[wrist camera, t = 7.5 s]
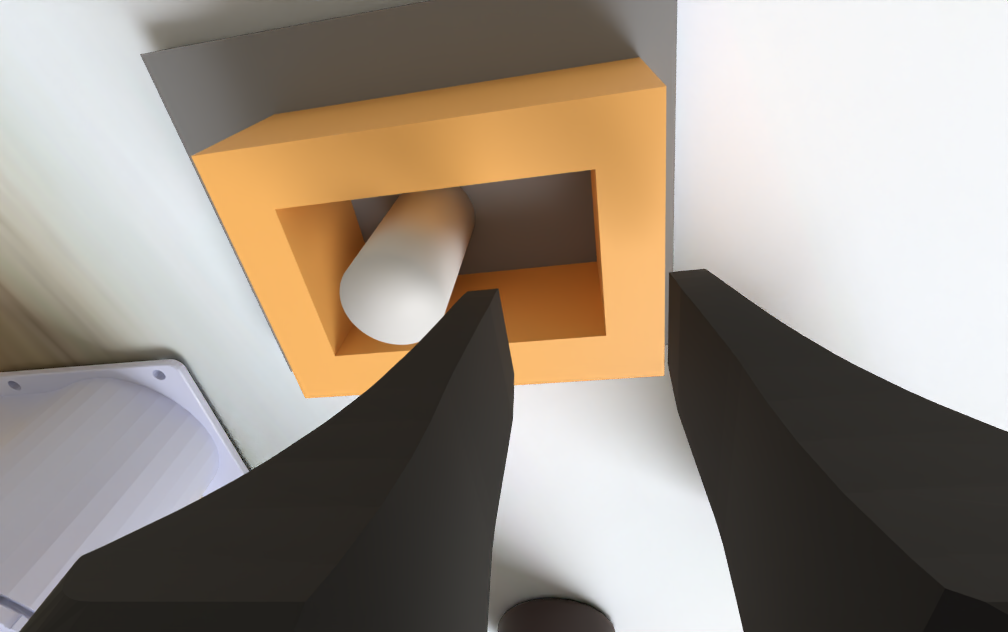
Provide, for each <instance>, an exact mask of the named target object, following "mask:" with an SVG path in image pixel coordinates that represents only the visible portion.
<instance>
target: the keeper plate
mask: <svg viewBox="0 0 1008 632" xmlns="http://www.w3.org/2000/svg"><path fill="white" fill-rule="evenodd" d="M676 44H677V0H431V1H425V2H420V3H414V4H409V5H404V6H398V7H393V8H387V9H382V10H377V11H371V12H366V13H360V14H355V15H349V16H344V17H339V18H333V19H328V20H322V21H317V22H312V23H306V24H301V25H295V26H290V27H285V28H279V29H274V30H268V31H263V32H257V33H252V34H247V35H241V36H236V37H230V38H225V39H220V40H214V41H209V42H203V43H198V44H193V45H187V46H182V47H176V48H171V49H165V50H160V51H155V52H150V53H145V54H140V55H141V57H142V59H143V61H144V63H145V65H146V67H147V69H148V72H149V74H150V76H151V78H152V80H153V82H154V84H155V86H156V88H157V90H158V93H159V95H160V97H161V99H162V101H163V103H164V105H165V107H166V109H167V112H168V114H169V116H170V118H171V120H172V122H173V124H174V126H175V128H176V130H177V133H178V135H179V137H180V139H181V141H182V143H183V145H184V147H185V149H186V152H187V154H188V156H189V158H190V160H191V162H192V164H193V166H194V168H195V170H196V173H197V175H198V177H199V179H200V181H201V183H202V185H203V187H204V189H205V192H206V194H207V196H208V198H209V200H210V202H211V204H212V206H213V208H214V210H215V213H216V215H217V217H218V219H219V221H220V223H221V225H222V227H223V229H224V232H225V234H226V236H227V238H228V240H229V242H230V244H231V246H232V248H233V250H234V253H235V255H236V257H237V259H238V261H239V263H240V265H241V267H242V269H243V271H244V274H245V276H246V278H247V280H248V282H249V284H250V286H251V288H252V290H253V293H254V295H255V297H256V299H257V301H258V303H259V305H260V307H261V309H262V311H263V314H264V316H265V318H266V320H267V322H268V324H269V326H270V328H271V330H272V333H273V335H274V337H275V339H276V341H277V343H278V345H279V347H280V349H281V351H282V354H283V356H284V358H285V360H286V362H287V364H288V366H289V368H290V370H291V372H292V369H291V367H290V365H289V362H288V360H287V358H286V356H285V354H284V352H283V350H282V348H281V345H280V343H279V341H278V339H277V337H276V335H275V333H274V331H273V329H272V326H271V324H270V322H269V320H268V318H267V316H266V314H265V312H264V310H263V307H262V305H261V303H260V301H259V299H258V297H257V295H256V293H255V291H254V288H253V286H252V284H251V282H250V280H249V278H248V276H247V274H246V271H245V269H244V267H243V265H242V263H241V261H240V259H239V257H238V255H237V252H236V250H235V248H234V246H233V244H232V242H231V240H230V238H229V236H228V233H227V231H226V229H225V227H224V225H223V223H222V221H221V219H220V216H219V214H218V212H217V210H216V208H215V206H214V204H213V202H212V200H211V197H210V195H209V193H208V191H207V189H206V187H205V185H204V183H203V181H202V178H201V176H200V174H199V172H198V170H197V168H196V166H195V164H194V161H193V159H192V157H191V156H192V155H194V154H196V153H198V152H200V151H202V150H204V149H206V148H208V147H210V146H212V145H214V144H216V143H218V142H220V141H222V140H224V139H226V138H228V137H230V136H232V135H234V134H236V133H238V132H240V131H242V130H244V129H246V128H248V127H250V126H252V125H254V124H256V123H258V122H260V121H262V120H264V119H266V118H268V117H270V116H272V115H274V114H280V113H287V112H293V111H299V110H306V109H312V108H318V107H325V106H331V105H338V104H344V103H350V102H357V101H363V100H370V99H376V98H382V97H389V96H395V95H401V94H408V93H414V92H421V91H427V90H433V89H440V88H446V87H452V86H459V85H465V84H472V83H478V82H484V81H491V80H497V79H504V78H510V77H516V76H523V75H529V74H535V73H542V72H548V71H555V70H561V69H567V68H574V67H580V66H586V65H593V64H599V63H606V62H612V61H618V60H625V59H631V58H638V57H640V58H641V59H642V60H643V61H644V63H645V64H646V65H647V66H648V67H649V68H650V69H651V70H652V71H653V72H654V73H655V74H656V76H657V77H658V78H659V79H660V80H661V81H662V82H663V83H664V84H665V85H666V213H665V345H668V313H669V272H673V228H674V167H675V105H676ZM351 202H352V205H353V208H354V211H355V214H356V217H357V220H358V224H359V227H360V230H361V233H362V236H363V239H364V242H365V245H364V246H363V248H362V249H361V250H360V252H359V253H358V255H357V256H356V257H355V259H354V260H353V262H352V263H351V264H350V266H349V267H348V269H347V270H346V271H345V273H344V275H343V277H342V280H341V283H340V300H341V304H342V307H343V309H344V311H345V313H346V315H347V316H348V318H349V319H350V320H351V322H352V323H353V324H354V325H355V326H356V327H357V328H358V329H359V330H361V331H362V332H363V333H365V334H366V335H368V336H370V337H372V338H374V339H376V340H378V341H381V342H385V343H389V344H396V345H407V344H413V343H417V342H419V341H420V340H421V339H422V338H423V337H424V336H425V335H426V334H427V333H428V332H429V331H430V330H431V329H432V328H433V327H434V326H435V325H436V324H437V323H438V321H439V320H440V319H441V318H442V317H443V316H444V314H445V311H446V308H447V305H448V302H449V299H450V296H451V293H452V290H453V288H454V285H455V282H456V279H457V276H458V275H464V274H474V273H484V272H495V271H505V270H515V269H525V268H536V267H546V266H556V265H566V264H576V263H587V262H597V256H596V242H595V228H594V213H593V199H592V185H591V170H585V171H577V172H569V173H561V174H553V175H545V176H537V177H529V178H521V179H513V180H506V181H498V182H490V183H482V184H474V185H466V186H458V187H450V188H442V189H434V190H426V191H418V192H410V193H402V194H394V195H386V196H378V197H370V198H362V199H354V200H351Z"/></svg>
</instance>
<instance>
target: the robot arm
mask: <svg viewBox="0 0 1008 632" xmlns="http://www.w3.org/2000/svg"><path fill="white" fill-rule="evenodd" d="M668 366H669V371H670V376H671V381H672V386H673V391H674V396H675V401H676V405H677V410H678V413H679V416H680V419H681V422H682V425H683V428H684V431H685V433H686V436H687V439H688V442H689V445H690V448H691V451H692V454H693V456H694V459H695V462H696V465H697V468H698V471H699V474H700V476H701V479H702V482H703V485H704V488H705V491H706V494H707V496H708V499H709V502H710V505H711V508H712V511H713V514H714V516H715V519H716V523H717V526H718V529H719V533H720V536H721V539H722V543H723V546H724V550H725V555H726V559H727V563H728V567H729V571H730V575H731V580H732V584H733V588H734V592H735V596H736V600H737V605H738V609H739V613H740V618H741V622H742V627H743V631H744V632H1008V432H1007V431H1004V430H1002V429H999V428H996V427H994V426H991V425H989V424H986V423H984V422H981V421H979V420H976V419H974V418H971V417H969V416H966V415H964V414H962V413H959V412H957V411H954V410H952V409H949V408H947V407H944V406H942V405H939V404H937V403H935V402H932V401H930V400H928V399H925V398H923V397H921V396H919V395H916V394H914V393H912V392H909V391H907V390H905V389H903V388H901V387H899V386H897V385H895V384H893V383H891V382H889V381H887V380H884V379H882V378H880V377H878V376H876V375H874V374H872V373H870V372H868V371H866V370H864V369H862V368H860V367H858V366H856V365H854V364H852V363H850V362H848V361H847V360H845V359H843V358H841V357H839V356H837V355H835V354H834V353H832V352H830V351H829V350H827V349H825V348H823V347H822V346H820V345H818V344H817V343H815V342H813V341H811V340H810V339H808V338H806V337H805V336H803V335H801V334H800V333H798V332H796V331H795V330H793V329H792V328H790V327H788V326H787V325H785V324H784V323H782V322H781V321H779V320H778V319H776V318H775V317H773V316H772V315H770V314H769V313H767V312H766V311H764V310H763V309H761V308H760V307H758V306H757V305H755V304H754V303H753V302H751V301H750V300H748V299H747V298H745V297H744V296H743V295H741V294H740V293H738V292H737V291H736V290H734V289H733V288H731V287H730V286H729V285H727V284H726V283H725V282H723V281H722V280H720V279H719V278H718V277H716V276H715V275H713V274H712V273H710V272H709V271H707V270H706V269H699V270H689V271H678V272H669V313H668ZM513 403H514V369H513V364H512V358H511V353H510V348H509V342H508V337H507V332H506V326H505V321H504V316H503V310H502V305H501V300H500V294H499V289H487V290H476V291H467V292H466V293H465V294H464V295H463V296H462V297H461V298H460V299H459V300H458V301H457V302H456V303H455V304H454V305H453V306H452V307H451V308H450V309H449V311H448V312H447V313H446V314H445V315H444V316H443V317H442V318H441V319H440V320H439V321H438V323H437V324H436V325H435V326H434V327H433V328H432V329H431V330H430V331H429V332H428V333H427V334H426V335H425V336H424V337H423V338H422V339H421V340H420V341H419V342H418V343H417V344H416V345H415V346H414V347H413V348H412V349H411V350H410V351H409V352H408V353H407V354H406V355H405V356H404V357H403V358H402V359H401V360H400V361H399V362H398V363H396V364H395V365H394V366H393V367H392V368H391V369H390V370H389V371H388V372H387V373H386V374H385V375H384V376H383V377H382V378H380V379H379V380H378V381H377V382H376V383H375V384H374V385H372V386H371V387H370V388H369V389H368V390H367V391H365V392H364V393H363V394H362V395H360V396H359V397H358V398H357V399H356V400H354V401H353V402H352V403H350V404H349V405H348V406H346V407H345V408H344V409H343V410H341V411H340V412H339V413H337V414H336V415H335V416H333V417H332V418H331V419H329V420H328V421H327V422H325V423H324V424H322V425H321V426H319V427H318V428H316V429H315V430H313V431H312V432H310V433H309V434H307V435H306V436H304V437H303V438H301V439H300V440H298V441H297V442H295V443H294V444H292V445H291V446H289V447H288V448H286V449H285V450H283V451H282V452H280V453H279V454H277V455H276V456H274V457H272V458H271V459H269V460H268V461H266V462H264V463H263V464H261V465H259V466H258V467H256V468H254V469H252V470H251V471H248V469H247V467H246V466H245V464H244V462H243V461H242V459H241V457H240V456H239V454H238V453H237V451H236V449H235V448H234V446H233V444H232V443H231V441H230V439H229V438H228V436H227V434H226V433H225V431H224V429H223V428H222V426H221V425H220V423H219V421H218V420H217V418H216V416H215V415H214V413H213V411H212V410H211V408H210V406H209V405H208V403H207V402H206V400H205V398H204V397H203V395H202V393H201V392H200V390H199V388H198V387H197V385H196V383H195V382H194V380H193V378H192V377H191V375H190V374H189V372H188V370H187V369H186V367H185V366H184V365H183V364H182V363H181V362H179V361H177V360H174V359H164V360H151V361H139V362H126V363H113V364H101V365H88V366H75V367H62V368H50V369H37V370H24V371H12V372H0V632H487V625H488V606H489V591H490V576H491V560H492V547H493V539H494V531H495V523H496V517H497V511H498V505H499V499H500V493H501V487H502V481H503V476H504V470H505V464H506V458H507V452H508V446H509V440H510V433H511V427H512V421H513ZM201 496H204V497H202V498H201ZM200 498H201V499H200Z"/></svg>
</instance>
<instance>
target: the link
mask: <svg viewBox="0 0 1008 632" xmlns="http://www.w3.org/2000/svg"><path fill="white" fill-rule="evenodd" d="M191 157H192V159H193V161H194V164H195V166H196V168H197V170H198V172H199V174H200V176H201V178H202V181H203V183H204V185H205V187H206V189H207V191H208V193H209V195H210V197H211V200H212V202H213V204H214V206H215V208H216V210H217V212H218V214H219V216H220V219H221V221H222V223H223V225H224V227H225V229H226V231H227V233H228V236H229V238H230V240H231V242H232V244H233V246H234V248H235V250H236V252H237V255H238V257H239V259H240V261H241V263H242V265H243V267H244V269H245V271H246V274H247V276H248V278H249V280H250V282H251V284H252V286H253V288H254V291H255V293H256V295H257V297H258V299H259V301H260V303H261V305H262V307H263V310H264V312H265V314H266V316H267V318H268V320H269V322H270V324H271V326H272V329H273V331H274V333H275V335H276V337H277V339H278V341H279V343H280V345H281V348H282V350H283V352H284V354H285V356H286V358H287V360H288V362H289V365H290V367H291V369H292V371H293V373H294V375H295V377H296V379H297V381H298V384H299V386H300V388H301V390H302V392H303V394H304V396H305V398H317V397H333V396H349V395H362V394H363V393H364V392H365V391H367V390H368V389H369V388H370V387H371V386H372V385H374V384H375V383H376V382H377V381H378V380H379V379H380V378H382V377H383V376H384V375H385V374H386V373H387V372H388V371H389V370H390V369H391V368H392V367H393V366H394V365H395V364H396V363H398V362H399V361H400V360H401V359H402V358H403V357H404V356H405V355H406V354H407V353H408V352H409V351H410V350H411V349H412V348H413V347H414V346H415V345H416V344H417V343H418V342H417V343H413V344H407V345H396V344H389V343H385V342H381V341H378V340H376V339H374V338H372V337H370V336H368V335H366V334H365V333H363V332H362V331H361V330H359V329H358V328H357V327H356V326H355V325H354V324H353V323H352V322H351V320H350V319H349V318H348V316H347V315H346V313H345V311H344V309H343V307H342V304H341V300H340V283H341V280H342V277H343V275H344V273H345V271H346V270H347V269H348V267H349V266H350V264H351V263H352V262H353V260H354V259H355V257H356V256H357V255H358V253H359V252H360V250H361V249H362V248H363V246H364V245H365V242H364V239H363V236H362V233H361V230H360V227H359V224H358V220H357V217H356V214H355V211H354V208H353V205H352V202H351V200H354V199H362V198H370V197H378V196H386V195H394V194H402V193H410V192H418V191H426V190H434V189H442V188H450V187H458V186H466V185H474V184H482V183H490V182H498V181H506V180H513V179H521V178H529V177H537V176H545V175H553V174H561V173H569V172H577V171H585V170H591V185H592V199H593V213H594V228H595V242H596V256H597V262H587V263H576V264H566V265H556V266H546V267H536V268H525V269H515V270H505V271H495V272H484V273H474V274H464V275H458V276H457V279H456V282H455V285H454V288H453V290H452V293H451V296H450V299H449V302H448V305H447V308H446V311H445V314H446V313H447V312H448V311H449V309H450V308H451V307H452V306H453V305H454V304H455V303H456V302H457V301H458V300H459V299H460V298H461V297H462V296H463V295H464V294H465V293H466V292H467V291H476V290H487V289H499V294H500V300H501V305H502V310H503V316H504V321H505V326H506V332H507V337H508V342H509V348H510V353H511V358H512V364H513V369H514V385H525V384H541V383H557V382H573V381H589V380H605V379H622V378H638V377H654V376H664V347H665V213H666V85H665V84H664V83H663V82H662V81H661V80H660V79H659V78H658V77H657V76H656V74H655V73H654V72H653V71H652V70H651V69H650V68H649V67H648V66H647V65H646V64H645V63H644V61H643V60H642V59H641V58H640V57H638V58H631V59H625V60H618V61H612V62H606V63H599V64H593V65H586V66H580V67H574V68H567V69H561V70H555V71H548V72H542V73H535V74H529V75H523V76H516V77H510V78H504V79H497V80H491V81H484V82H478V83H472V84H465V85H459V86H452V87H446V88H440V89H433V90H427V91H421V92H414V93H408V94H401V95H395V96H389V97H382V98H376V99H370V100H363V101H357V102H350V103H344V104H338V105H331V106H325V107H318V108H312V109H306V110H299V111H293V112H287V113H280V114H274V115H272V116H270V117H268V118H266V119H264V120H262V121H260V122H258V123H256V124H254V125H252V126H250V127H248V128H246V129H244V130H242V131H240V132H238V133H236V134H234V135H232V136H230V137H228V138H226V139H224V140H222V141H220V142H218V143H216V144H214V145H212V146H210V147H208V148H206V149H204V150H202V151H200V152H198V153H196V154H194V155H192V156H191ZM445 314H444V315H445Z"/></svg>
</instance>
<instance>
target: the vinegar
mask: <svg viewBox="0 0 1008 632" xmlns="http://www.w3.org/2000/svg"><path fill="white" fill-rule="evenodd" d="M498 632H615V630H614V627H613V624H612V623H611V622H610V621H609V620H608V619H607V618H606V617H605V616H604V615H603V614H602V613H601V612H600V611H598V610H596V609H594V608H592V607H590V606H588V605H586V604H582V603H579V602H575V601H572V600H565V599H555V598H548V599H534V600H531V601H527V602H524V603H520V604H518V605H517V606H515V607H513V608H512V609H510V610H508V611H507V612H506V613H505V614H504V616H503V617H502V618H501V620H500V622H499V624H498Z"/></svg>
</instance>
